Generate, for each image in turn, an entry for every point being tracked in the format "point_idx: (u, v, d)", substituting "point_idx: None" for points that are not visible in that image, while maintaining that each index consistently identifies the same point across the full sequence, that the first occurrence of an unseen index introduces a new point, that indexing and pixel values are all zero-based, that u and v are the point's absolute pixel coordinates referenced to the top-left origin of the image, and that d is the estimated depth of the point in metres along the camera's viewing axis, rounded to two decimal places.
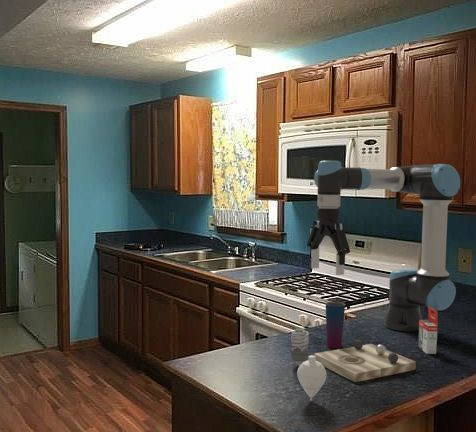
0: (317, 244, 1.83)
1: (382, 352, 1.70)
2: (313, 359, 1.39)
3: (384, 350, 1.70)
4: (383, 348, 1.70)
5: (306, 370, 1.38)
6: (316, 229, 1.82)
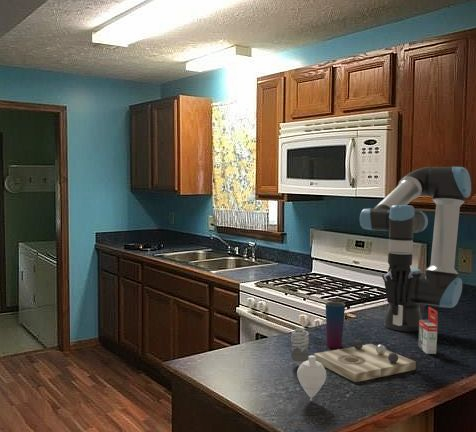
0: (400, 296, 1.74)
1: (382, 352, 1.70)
2: (313, 359, 1.39)
3: (384, 350, 1.70)
4: (383, 348, 1.70)
5: (306, 370, 1.38)
6: (407, 280, 1.75)
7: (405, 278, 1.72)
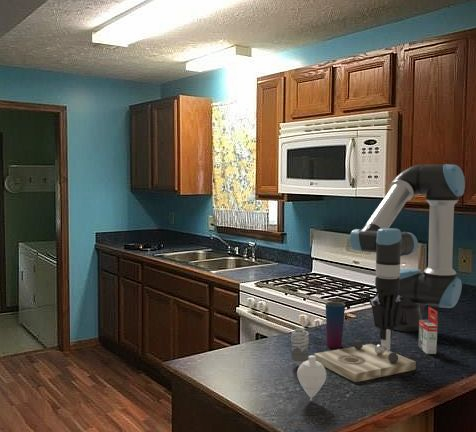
0: (388, 321, 1.72)
1: (381, 353, 1.70)
2: (313, 359, 1.39)
3: (383, 350, 1.70)
4: (381, 349, 1.70)
5: (306, 370, 1.38)
6: (395, 303, 1.74)
7: (393, 302, 1.70)
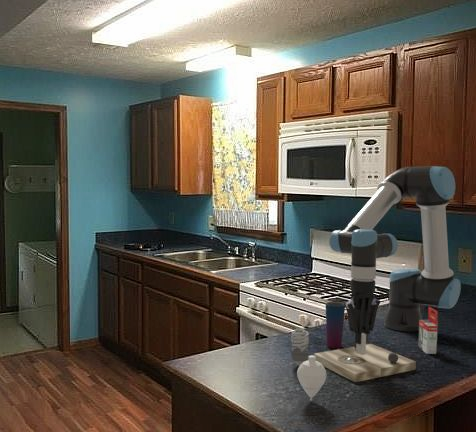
0: (363, 324, 1.67)
1: None
2: (313, 359, 1.39)
3: None
4: None
5: (306, 370, 1.38)
6: (371, 306, 1.69)
7: (368, 305, 1.66)
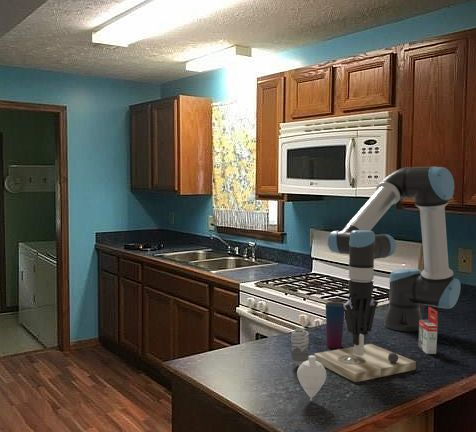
0: (361, 325, 1.67)
1: None
2: (313, 359, 1.39)
3: None
4: None
5: (306, 370, 1.38)
6: (369, 307, 1.69)
7: (366, 306, 1.65)
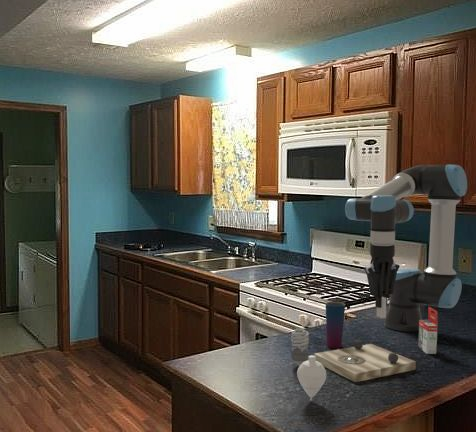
0: (383, 288, 1.70)
1: None
2: (313, 359, 1.39)
3: None
4: None
5: (306, 370, 1.38)
6: (390, 271, 1.72)
7: (388, 270, 1.69)
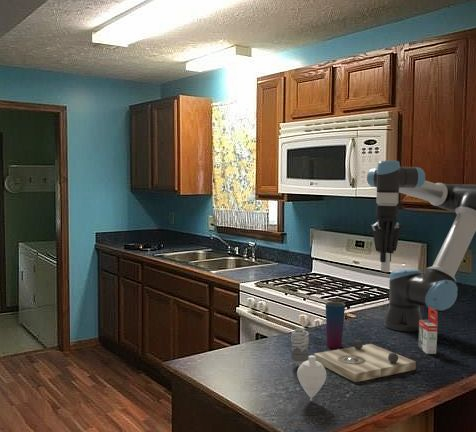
0: (387, 245, 1.88)
1: None
2: (313, 359, 1.39)
3: None
4: None
5: (306, 370, 1.38)
6: (394, 230, 1.90)
7: (392, 228, 1.87)
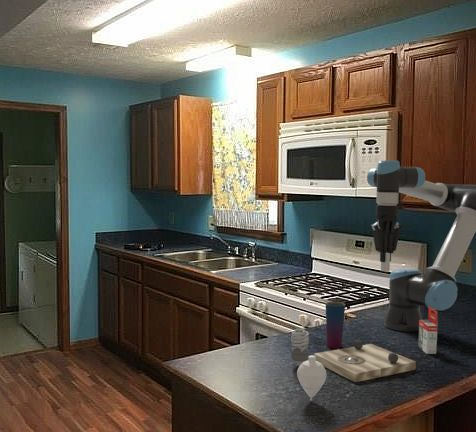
0: (387, 245, 1.89)
1: None
2: (313, 359, 1.39)
3: None
4: None
5: (306, 370, 1.38)
6: (394, 230, 1.90)
7: (392, 228, 1.87)
